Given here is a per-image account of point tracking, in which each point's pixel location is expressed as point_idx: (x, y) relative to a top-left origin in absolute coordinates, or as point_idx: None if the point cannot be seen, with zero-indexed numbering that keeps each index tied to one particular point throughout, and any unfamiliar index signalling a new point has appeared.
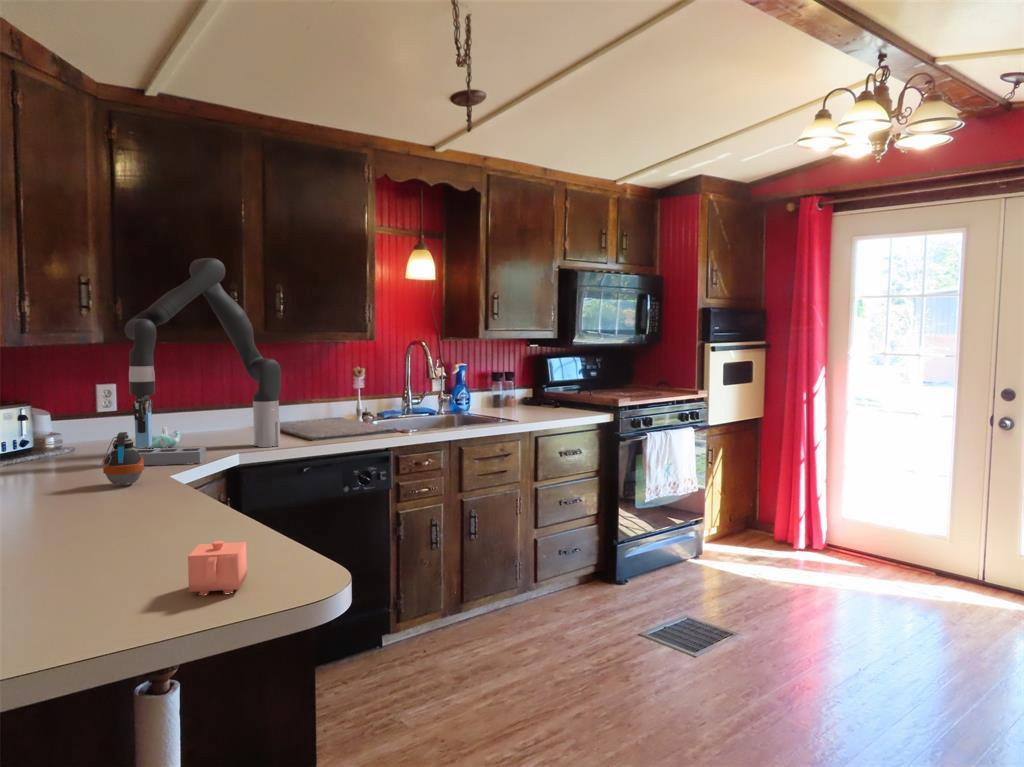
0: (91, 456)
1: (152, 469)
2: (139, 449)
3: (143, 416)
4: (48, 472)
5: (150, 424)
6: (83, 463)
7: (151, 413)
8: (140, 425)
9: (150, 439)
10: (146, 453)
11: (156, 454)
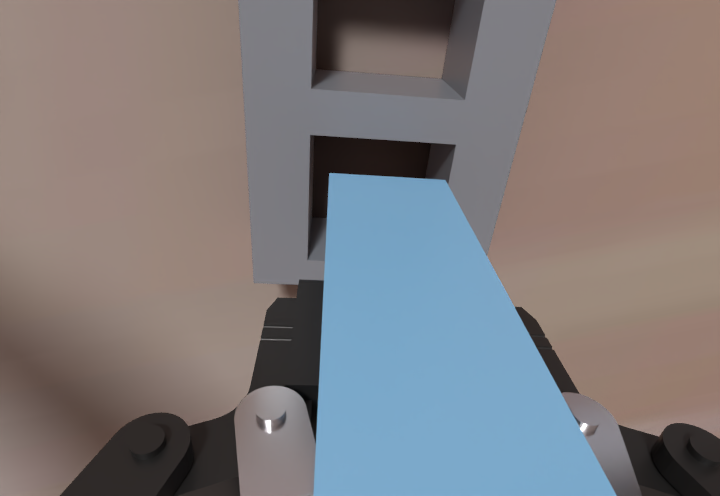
0: (87, 448)
1: (649, 70)
2: (271, 257)
3: (707, 484)
4: None
5: (394, 306)
6: None
7: (91, 477)
8: None
9: (394, 203)
10: (503, 169)
11: (529, 85)
